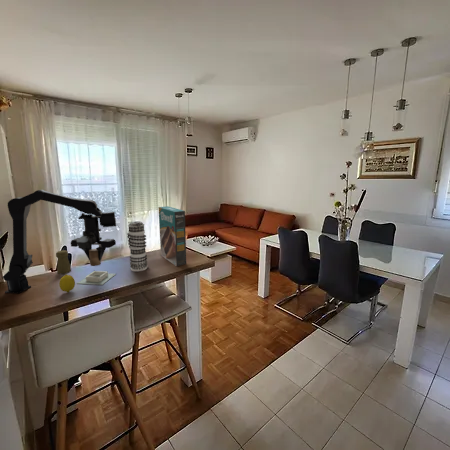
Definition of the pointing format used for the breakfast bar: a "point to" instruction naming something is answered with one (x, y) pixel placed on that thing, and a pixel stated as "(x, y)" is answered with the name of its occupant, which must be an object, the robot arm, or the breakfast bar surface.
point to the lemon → (67, 283)
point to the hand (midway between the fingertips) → (95, 260)
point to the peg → (94, 257)
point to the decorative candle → (137, 246)
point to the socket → (97, 278)
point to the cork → (63, 262)
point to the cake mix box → (172, 235)
